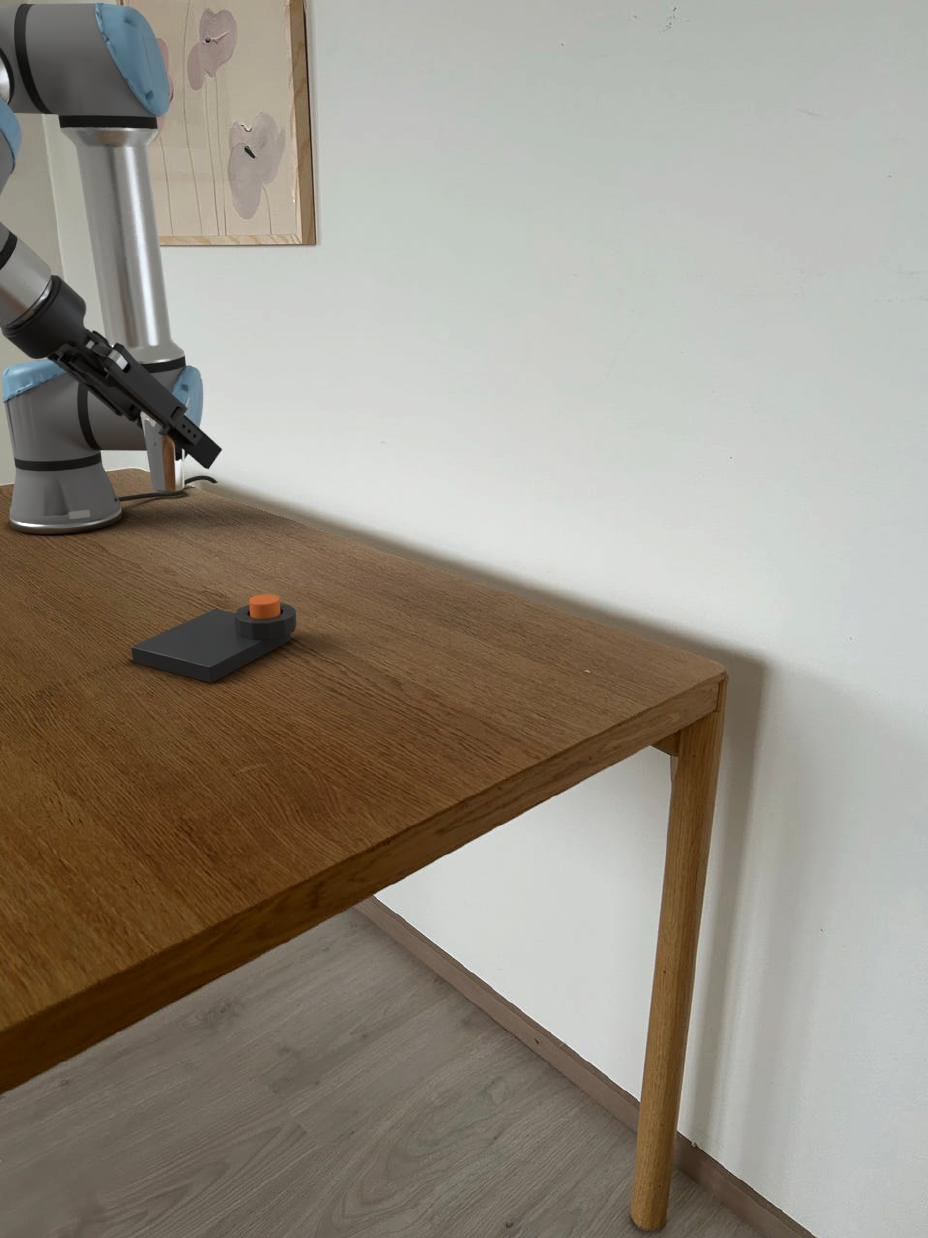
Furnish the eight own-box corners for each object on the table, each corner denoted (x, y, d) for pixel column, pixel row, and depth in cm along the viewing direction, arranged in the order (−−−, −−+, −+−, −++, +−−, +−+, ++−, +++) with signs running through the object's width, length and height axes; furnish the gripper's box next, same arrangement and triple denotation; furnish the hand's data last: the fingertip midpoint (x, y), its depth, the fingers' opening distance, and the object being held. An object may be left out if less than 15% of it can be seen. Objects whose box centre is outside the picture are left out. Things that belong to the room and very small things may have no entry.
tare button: (263, 608, 98) (262, 592, 97) (286, 613, 97) (285, 597, 96) (244, 617, 96) (242, 601, 95) (267, 622, 94) (266, 606, 94)
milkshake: (185, 496, 101) (178, 400, 97) (138, 491, 102) (130, 396, 98) (204, 486, 105) (198, 394, 101) (159, 481, 106) (152, 390, 102)
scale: (222, 620, 103) (220, 589, 102) (308, 639, 98) (306, 608, 97) (132, 662, 93) (128, 629, 92) (223, 686, 88) (220, 651, 87)
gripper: (-36, 327, 93) (140, 470, 110) (43, 338, 81) (226, 496, 98) (11, 268, 94) (177, 418, 111) (94, 271, 83) (265, 438, 100)
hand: (200, 454), depth 105 cm, fingers closed on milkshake, 5 cm apart
